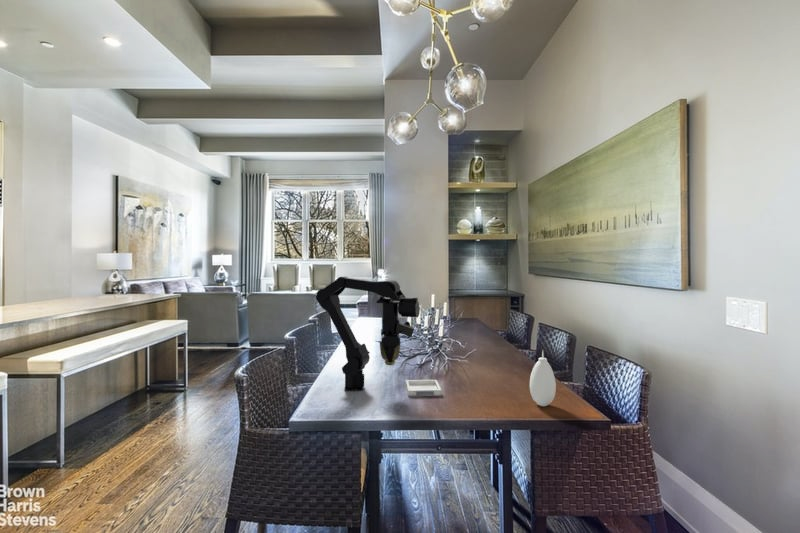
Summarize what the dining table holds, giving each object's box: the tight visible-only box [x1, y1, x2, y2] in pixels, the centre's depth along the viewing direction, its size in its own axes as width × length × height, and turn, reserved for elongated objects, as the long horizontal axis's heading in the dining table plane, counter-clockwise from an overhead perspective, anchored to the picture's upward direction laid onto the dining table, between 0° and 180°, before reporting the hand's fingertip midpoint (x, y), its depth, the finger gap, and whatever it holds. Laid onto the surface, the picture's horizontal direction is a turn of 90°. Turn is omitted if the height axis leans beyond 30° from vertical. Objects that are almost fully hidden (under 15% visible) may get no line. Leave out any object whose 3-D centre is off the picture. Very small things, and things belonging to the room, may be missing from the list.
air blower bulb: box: [529, 350, 557, 407], centre depth 124 cm, size 8×8×18 cm
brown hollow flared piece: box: [379, 341, 402, 366], centre depth 136 cm, size 8×7×8 cm
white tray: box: [405, 379, 443, 397], centre depth 137 cm, size 12×12×2 cm
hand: (389, 359), depth 136 cm, fingers closed on brown hollow flared piece, 6 cm apart
